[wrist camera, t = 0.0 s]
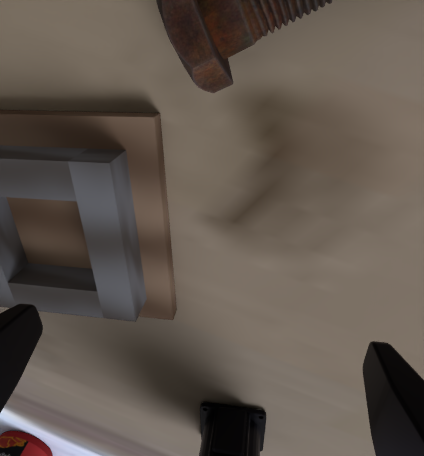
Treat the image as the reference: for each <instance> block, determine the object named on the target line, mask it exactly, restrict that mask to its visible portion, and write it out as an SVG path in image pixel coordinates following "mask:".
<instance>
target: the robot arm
mask: <svg viewBox="0 0 424 456" xmlns="http://www.w3.org/2000/svg"><path fill="white" fill-rule="evenodd" d="M42 330H43V325H42V322H41V319H40V316H39V313H38V311H37V308H36V307H35V306H34V305H32V304H23V303H22V304H17V305H15V306H14V307H12V308H10V309H8V310H6V311H4V312H2V313H0V413H1V411H2V409H3V408H4V406H5V404H6V403H7V401H8V399H9V398H10V396H11V394H12V393H13V391H14V389H15V387H16V386H17V384H18V382H19V380H20V378H21V376H22V374H23V372H24V370H25V368H26V365H27V363H28V361H29V359H30V357H31V355H32V353H33V351H34V349H35V347H36V345H37V343H38V340H39V338H40V336H41V334H42ZM363 377H364V385H365V392H366V400H367V407H368V415H369V422H370V429H371V436H372V440H373V445H374V449H375V453H376V456H424V380H423V379H422V378H421V377H420V376H419V375H418V373H417V372H416V371H415V370H414V369H413V368H412V367H411V366H410V365H409V364H408V363H407V362H406V361H405V360H404V359H403V358H402V356H401V355H400V354H399V353H398V352H397V351H396V350H395V349H394V348H393V347H392V346H391V345H390V344H388V343H384V342H375V341H373V342H371V343H370V344H369V346H368V350H367V353H366V356H365V359H364V363H363ZM200 417H201V438H202V442H201V448H200V453H199V456H260V451H262V450H263V443H264V434H265V424H266V412H265V411H262V410H255V409H248V408H241V407H234V406H227V405H220V404H213V403H206V402H204V403H201V407H200Z"/></svg>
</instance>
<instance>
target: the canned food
mask: <svg viewBox="0 0 424 456" xmlns="http://www.w3.org/2000/svg"><path fill="white" fill-rule="evenodd" d="M0 456H53V455H52V452H51V450H50V448H49V447H48V446H47V445H46V444H45V443H44V442H42V441H41V440H40V439H38V438H36V437H34V436H32V435H30V434H27V433H24V432H20V431H7V432H4V433H3V434H2V435H0Z"/></svg>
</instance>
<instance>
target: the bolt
mask: <svg viewBox="0 0 424 456" xmlns="http://www.w3.org/2000/svg"><path fill="white" fill-rule="evenodd" d="M156 1H157V5H158V9H159V12H160V14H161V17H162V20H163V23H164V26H165V29H166V31H167V34H168V37H169V39H170V41H171V43H172V45H173V46H174V48H175V50H176V52H177V54H178V56H179V58H180V60H181V62H182V64H183V65H184V67H185V69H186V70H187V72H188V74H189V75H190V77H191V78H192V80H193V82H194V83H195V84H196V85H197V86H198V87H199V88H200V89H202V90H205V91H208V92H211V93H215V92H217V91H219V90H221V89H223V88H226V87H228V86H230V85H232V84H233V80H232V75H231V71H230V66H229V62H228V57H230V56H232V55H234V54H236V53H238V52H240V51H242V50H244V49H246V48H248V47H250V46H252V45H254V44H255V42H256V41H257V40H259V39H261V37H262V36H267V33H268V30H270V31H271V33H273V32H274V29H275V26H276V27H277V28H278V29H281V25H282V23H283V24H284V25H285V26H287V25H288V21H289V19H290V20H291V21H292V22H295V19H296V16H298V17H299V18H302V16H303V13H304V12H305V13H306V14H307V15H309V14H310V12H311V9H313V10H314V11H317V10H318V6H320V7H324V6H325V3H326V2H327V3H329V4H330V3H332V0H156Z"/></svg>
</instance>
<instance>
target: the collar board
mask: <svg viewBox="0 0 424 456" xmlns="http://www.w3.org/2000/svg"><path fill="white" fill-rule="evenodd" d="M22 303H23V304H32V305H34V306H35V307H36V308H37V311H44V312H53V313H62V314H71V315H81V316H90V317H99V318H108V319H117V320H126V321H135V322H136V320H137V318H138V316H140V317H149V318H158V319H168V320H173V319H174V316H175V313H176V310H177V309H176V297H175V285H174V273H173V261H172V249H171V238H170V226H169V214H168V202H167V190H166V178H165V166H164V155H163V143H162V131H161V119H160V113H126V112H76V111H26V110H0V307H8V308H12V307H14V306H15V305H17V304H22Z"/></svg>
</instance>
